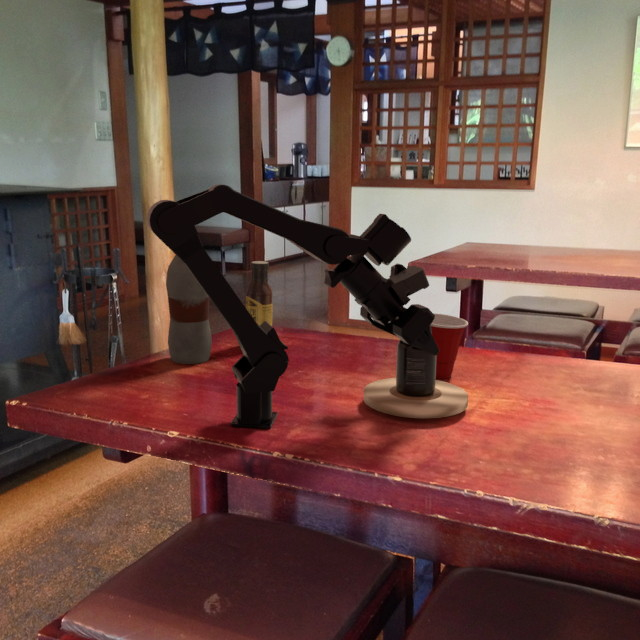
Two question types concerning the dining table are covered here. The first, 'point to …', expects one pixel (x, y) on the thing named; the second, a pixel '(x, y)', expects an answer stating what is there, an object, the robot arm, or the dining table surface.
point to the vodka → (187, 316)
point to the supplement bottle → (415, 371)
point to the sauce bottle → (259, 294)
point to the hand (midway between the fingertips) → (424, 346)
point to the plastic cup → (447, 342)
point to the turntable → (416, 400)
